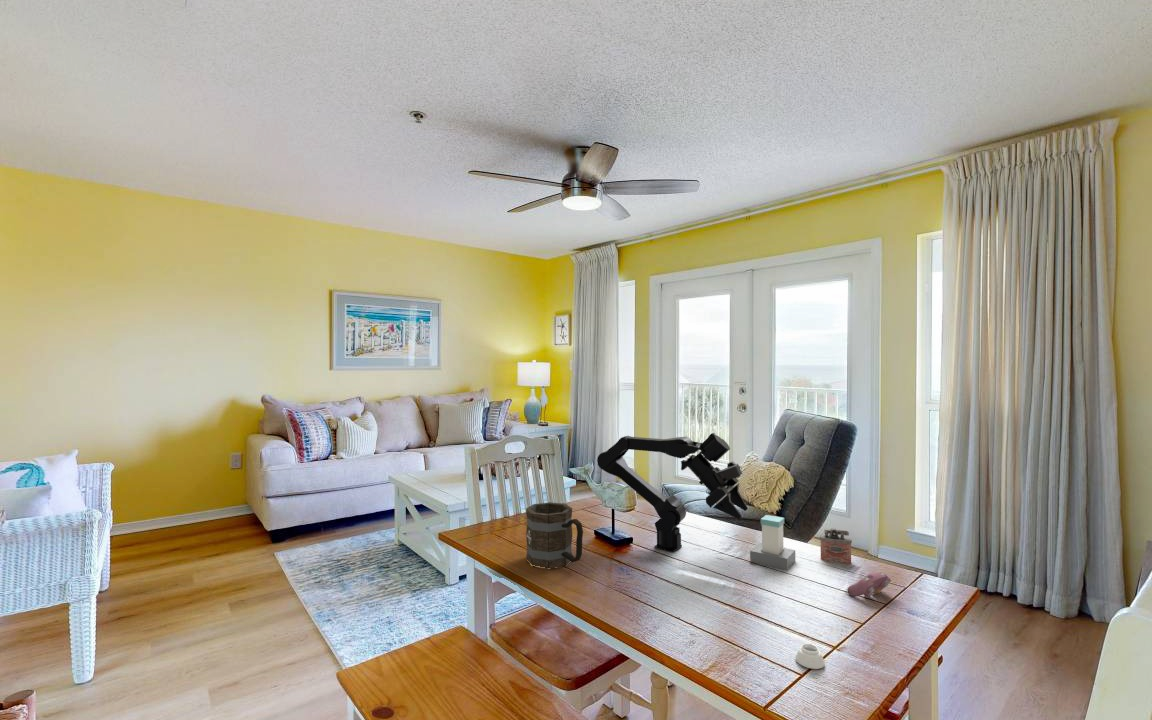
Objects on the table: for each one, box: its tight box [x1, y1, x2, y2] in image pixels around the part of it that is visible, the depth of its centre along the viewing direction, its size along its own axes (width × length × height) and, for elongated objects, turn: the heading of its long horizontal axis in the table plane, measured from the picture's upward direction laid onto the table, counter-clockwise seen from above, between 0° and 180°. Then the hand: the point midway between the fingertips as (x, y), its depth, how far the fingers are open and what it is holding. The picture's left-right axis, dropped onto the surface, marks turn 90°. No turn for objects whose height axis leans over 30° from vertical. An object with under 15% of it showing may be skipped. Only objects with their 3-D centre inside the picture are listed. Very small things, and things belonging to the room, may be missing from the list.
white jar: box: [795, 643, 826, 670], centre depth 99 cm, size 5×3×5 cm
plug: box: [760, 514, 785, 555], centre depth 146 cm, size 5×5×12 cm
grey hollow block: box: [749, 542, 796, 571], centre depth 146 cm, size 10×8×4 cm
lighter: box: [819, 527, 853, 565], centre depth 147 cm, size 8×3×10 cm, turn 68°
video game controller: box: [846, 571, 892, 598], centre depth 127 cm, size 10×5×7 cm, turn 118°
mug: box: [525, 501, 584, 569], centre depth 149 cm, size 20×14×15 cm
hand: (743, 513), depth 150 cm, fingers open, 9 cm apart
